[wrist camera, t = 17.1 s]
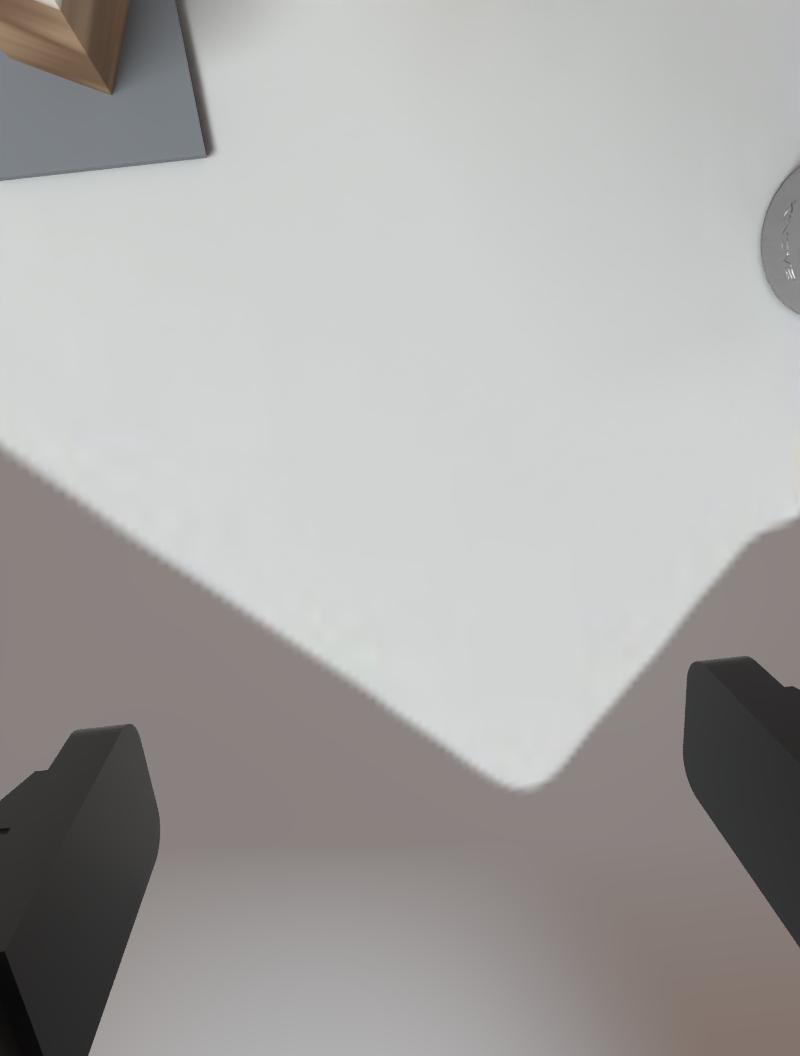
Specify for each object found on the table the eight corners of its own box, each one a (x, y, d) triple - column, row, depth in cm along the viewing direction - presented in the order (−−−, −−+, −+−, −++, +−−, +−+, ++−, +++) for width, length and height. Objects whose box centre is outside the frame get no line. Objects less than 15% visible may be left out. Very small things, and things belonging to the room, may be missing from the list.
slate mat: (148, -133, 31) (146, -141, 30) (206, 157, 34) (205, 154, 33) (-88, -120, 30) (-94, -128, 29) (-5, 181, 33) (-10, 178, 32)
